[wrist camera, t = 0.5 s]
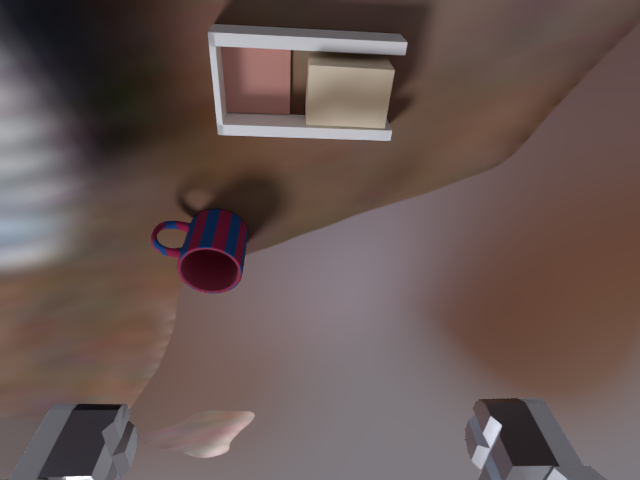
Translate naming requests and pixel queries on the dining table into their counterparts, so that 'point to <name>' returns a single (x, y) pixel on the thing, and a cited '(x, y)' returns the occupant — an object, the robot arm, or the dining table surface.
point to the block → (348, 89)
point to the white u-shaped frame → (280, 78)
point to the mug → (208, 250)
